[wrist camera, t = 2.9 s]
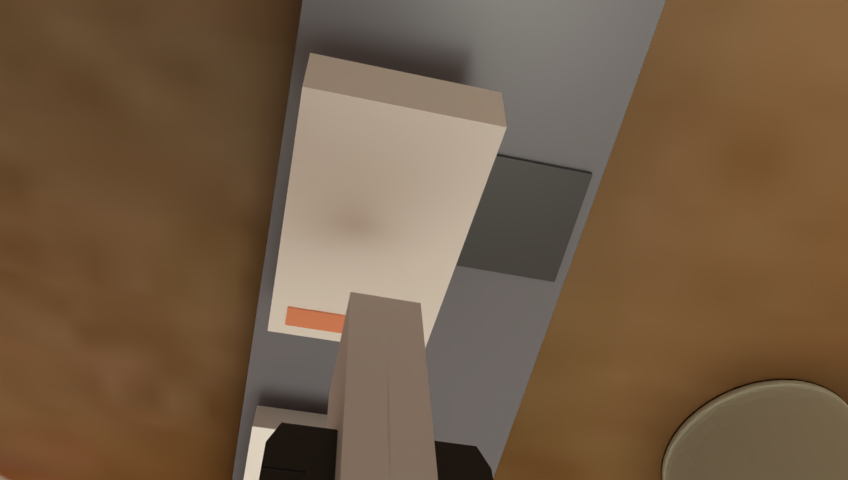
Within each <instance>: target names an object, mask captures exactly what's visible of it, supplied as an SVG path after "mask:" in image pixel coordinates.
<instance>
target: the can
mask: <svg viewBox="0 0 848 480" xmlns="http://www.w3.org/2000/svg"><path fill="white" fill-rule="evenodd" d="M662 480H848V405H847V404H846V403H845V402H844V401H843V400H842V399H841V398H840V397H839V396H837V395H836V394H834V393H833V392H831V391H830V390H828V389H826V388H824V387H821V386H818V385H816V384H812V383H808V382H804V381H797V380H772V381H764V382H758V383H754V384H750V385H746V386H743V387H740V388H737V389H734V390H732V391H729V392H727V393H725V394H723V395H721V396H719V397H717V398H715V399H714V400H712V401H710V402H709V403H707V404H706V405H704V406H703V407H701V408H700V409H699V410H697V411H696V412H695V413H694V414H693V415H692V416H690V417H689V418H688V419H687V420H686V421H685V422H684V423H683V424H682V426H681V427H680V428H679V429H678V431H677V432H676V433H675V435H674V436H673V438H672V440H671V442H670V443H669V445H668V447H667V450H666V453H665V456H664V459H663V464H662Z"/></svg>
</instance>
